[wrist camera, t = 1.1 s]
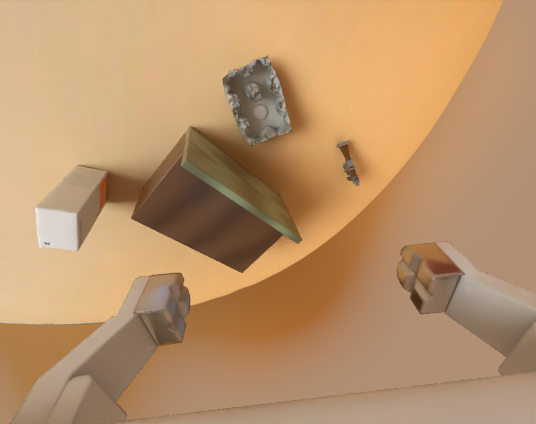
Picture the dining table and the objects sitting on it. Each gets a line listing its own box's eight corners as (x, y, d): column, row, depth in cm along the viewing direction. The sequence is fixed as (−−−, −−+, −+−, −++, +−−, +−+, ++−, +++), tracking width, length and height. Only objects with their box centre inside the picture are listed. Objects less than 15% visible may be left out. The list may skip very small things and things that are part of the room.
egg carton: (287, 126, 41) (294, 134, 38) (244, 142, 41) (247, 152, 38) (268, 52, 35) (275, 54, 32) (217, 71, 35) (219, 75, 32)
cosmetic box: (107, 203, 42) (78, 252, 32) (76, 198, 41) (37, 248, 31) (108, 170, 39) (78, 213, 30) (75, 163, 38) (32, 206, 28)
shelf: (142, 187, 42) (123, 237, 31) (190, 126, 38) (186, 159, 28) (236, 240, 52) (245, 291, 42) (280, 196, 49) (302, 240, 38)
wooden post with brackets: (346, 185, 49) (355, 188, 45) (331, 146, 48) (339, 144, 43) (354, 181, 49) (364, 184, 45) (340, 142, 48) (349, 140, 43)
